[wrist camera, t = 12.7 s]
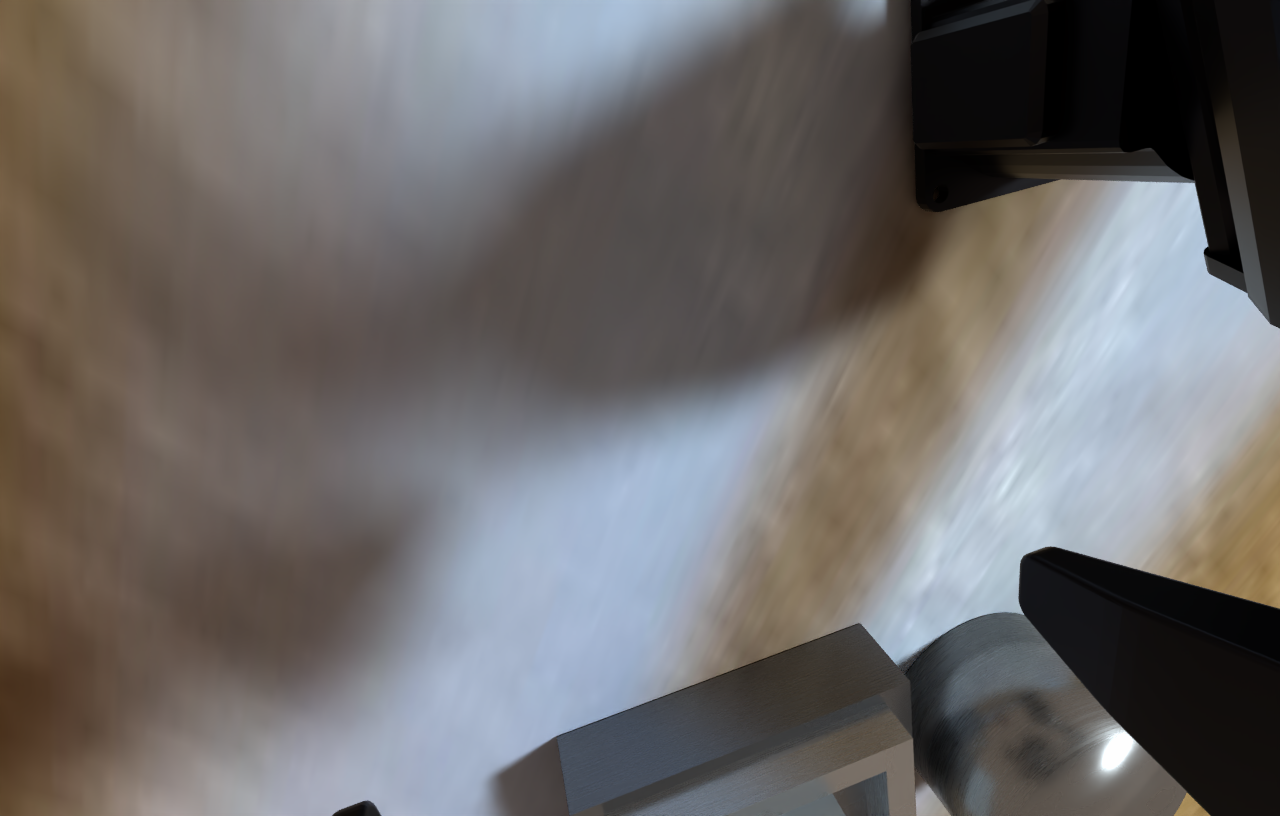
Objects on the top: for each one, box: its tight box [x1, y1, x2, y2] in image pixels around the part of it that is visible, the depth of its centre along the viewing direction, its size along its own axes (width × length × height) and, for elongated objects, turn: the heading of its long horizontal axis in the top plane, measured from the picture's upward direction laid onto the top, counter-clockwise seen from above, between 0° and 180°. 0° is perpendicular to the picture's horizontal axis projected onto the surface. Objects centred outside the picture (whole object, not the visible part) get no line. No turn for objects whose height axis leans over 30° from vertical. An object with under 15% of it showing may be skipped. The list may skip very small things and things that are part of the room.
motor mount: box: [557, 613, 1186, 816], centre depth 24 cm, size 21×12×6 cm, turn 102°
